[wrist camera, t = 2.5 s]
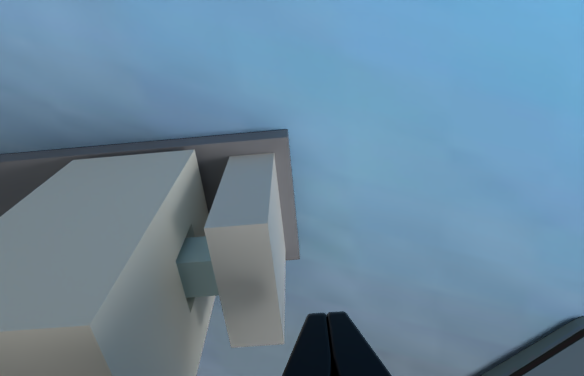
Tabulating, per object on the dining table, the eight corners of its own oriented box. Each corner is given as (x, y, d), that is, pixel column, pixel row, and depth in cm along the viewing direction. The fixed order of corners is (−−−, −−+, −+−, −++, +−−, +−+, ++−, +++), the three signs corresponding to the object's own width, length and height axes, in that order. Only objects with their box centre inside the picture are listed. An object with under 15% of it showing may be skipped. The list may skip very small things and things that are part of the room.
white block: (221, 271, 15) (167, 496, 8) (118, 279, 15) (-17, 506, 8) (194, 149, 12) (89, 325, 6) (72, 159, 12) (-162, 343, 6)
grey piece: (299, 247, 16) (303, 358, 11) (-127, 279, 16) (-298, 398, 11) (287, 129, 13) (287, 204, 9) (-207, 172, 14) (-462, 265, 9)
